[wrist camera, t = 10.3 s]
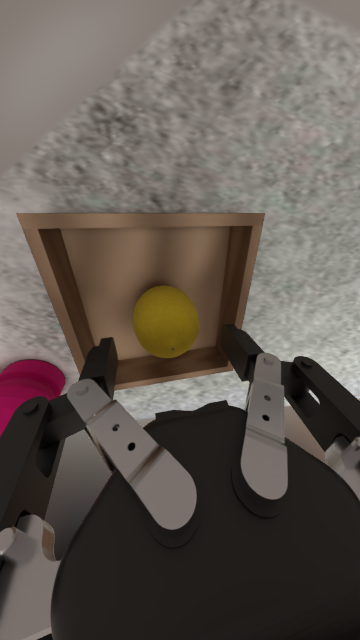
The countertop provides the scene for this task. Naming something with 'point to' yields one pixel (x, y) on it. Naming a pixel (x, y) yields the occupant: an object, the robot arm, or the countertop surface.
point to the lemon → (165, 321)
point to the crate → (144, 281)
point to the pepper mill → (27, 386)
